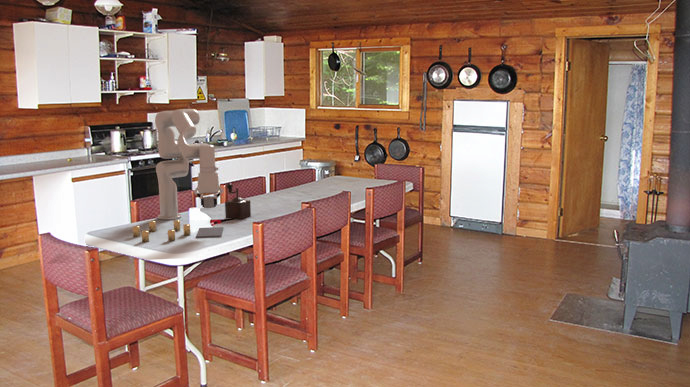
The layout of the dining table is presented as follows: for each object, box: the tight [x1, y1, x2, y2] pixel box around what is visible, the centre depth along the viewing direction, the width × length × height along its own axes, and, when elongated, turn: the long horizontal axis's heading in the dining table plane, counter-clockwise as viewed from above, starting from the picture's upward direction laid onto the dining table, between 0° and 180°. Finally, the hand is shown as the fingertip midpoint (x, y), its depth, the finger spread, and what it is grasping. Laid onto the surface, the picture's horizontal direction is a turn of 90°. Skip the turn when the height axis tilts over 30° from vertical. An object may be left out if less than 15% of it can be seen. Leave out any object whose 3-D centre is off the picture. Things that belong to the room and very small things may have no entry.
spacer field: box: [132, 219, 191, 243], centre depth 302 cm, size 24×27×5 cm
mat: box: [195, 226, 224, 239], centre depth 308 cm, size 18×12×1 cm, turn 8°
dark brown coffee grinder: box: [224, 183, 252, 221], centre depth 344 cm, size 16×11×18 cm
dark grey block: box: [203, 195, 215, 209], centre depth 305 cm, size 6×5×5 cm
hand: (209, 206), depth 305 cm, fingers closed on dark grey block, 5 cm apart
